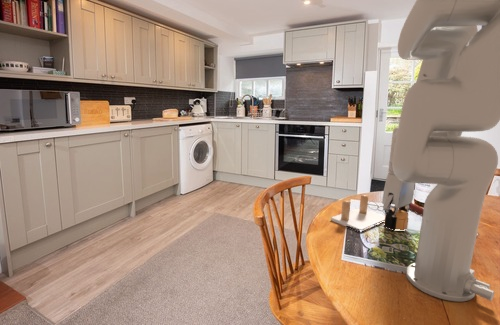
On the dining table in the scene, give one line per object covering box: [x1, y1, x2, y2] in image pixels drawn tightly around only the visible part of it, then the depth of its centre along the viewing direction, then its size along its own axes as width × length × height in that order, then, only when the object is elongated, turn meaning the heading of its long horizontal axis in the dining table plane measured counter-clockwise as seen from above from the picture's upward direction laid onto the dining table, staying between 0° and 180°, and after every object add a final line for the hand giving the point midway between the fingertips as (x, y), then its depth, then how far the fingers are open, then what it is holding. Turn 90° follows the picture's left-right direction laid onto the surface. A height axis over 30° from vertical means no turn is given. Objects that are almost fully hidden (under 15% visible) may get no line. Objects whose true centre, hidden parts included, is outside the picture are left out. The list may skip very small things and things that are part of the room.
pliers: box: [409, 201, 424, 216], centre depth 100 cm, size 12×20×3 cm, turn 166°
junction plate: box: [330, 194, 385, 230], centre depth 95 cm, size 11×16×7 cm
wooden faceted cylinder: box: [383, 208, 410, 230], centre depth 90 cm, size 6×6×5 cm
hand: (395, 225), depth 90 cm, fingers closed on wooden faceted cylinder, 6 cm apart
